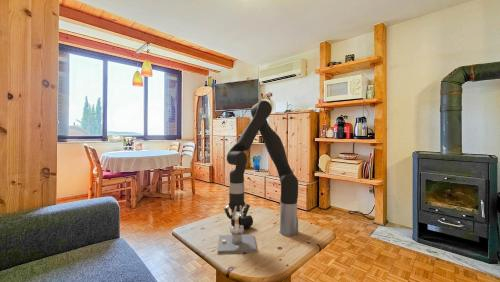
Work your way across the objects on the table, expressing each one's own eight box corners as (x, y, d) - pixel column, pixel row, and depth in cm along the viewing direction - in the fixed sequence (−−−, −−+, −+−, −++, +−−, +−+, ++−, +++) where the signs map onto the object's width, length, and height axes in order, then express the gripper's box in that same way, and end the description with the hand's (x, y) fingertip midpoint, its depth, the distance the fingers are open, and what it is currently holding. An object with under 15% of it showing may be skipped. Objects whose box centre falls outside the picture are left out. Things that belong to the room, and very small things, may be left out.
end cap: (239, 232, 125) (239, 220, 125) (232, 228, 130) (232, 217, 130) (253, 228, 131) (253, 216, 131) (245, 224, 137) (245, 213, 137)
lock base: (253, 236, 120) (253, 224, 120) (256, 251, 104) (256, 238, 104) (219, 237, 119) (219, 225, 119) (217, 253, 103) (217, 240, 103)
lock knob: (230, 227, 116) (230, 214, 116) (243, 227, 116) (243, 213, 116) (229, 236, 106) (229, 221, 106) (243, 236, 106) (243, 221, 106)
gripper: (246, 188, 117) (246, 220, 118) (220, 190, 112) (221, 225, 112) (252, 191, 111) (252, 226, 111) (225, 194, 105) (225, 231, 105)
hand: (236, 225), depth 112 cm, fingers closed on lock knob, 3 cm apart
